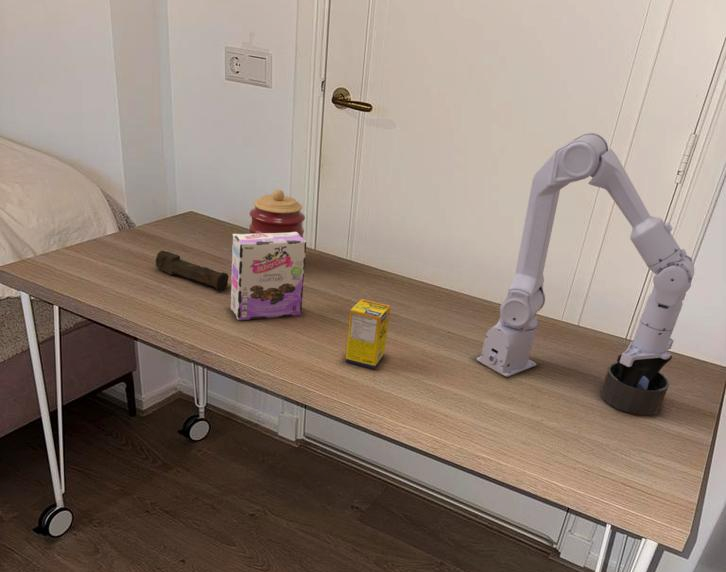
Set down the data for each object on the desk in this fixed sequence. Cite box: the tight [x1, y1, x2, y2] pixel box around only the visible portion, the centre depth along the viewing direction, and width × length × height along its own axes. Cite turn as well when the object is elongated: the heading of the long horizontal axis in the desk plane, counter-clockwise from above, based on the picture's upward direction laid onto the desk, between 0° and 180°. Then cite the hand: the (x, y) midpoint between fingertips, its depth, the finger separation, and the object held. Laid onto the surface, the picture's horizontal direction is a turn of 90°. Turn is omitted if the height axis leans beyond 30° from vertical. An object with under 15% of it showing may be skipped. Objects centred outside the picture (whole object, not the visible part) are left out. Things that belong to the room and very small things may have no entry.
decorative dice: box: [636, 376, 649, 390], centre depth 132 cm, size 4×4×4 cm
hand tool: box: [155, 250, 229, 293], centre depth 158 cm, size 19×4×5 cm, turn 60°
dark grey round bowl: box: [600, 361, 670, 416], centre depth 132 cm, size 11×11×6 cm
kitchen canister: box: [248, 188, 306, 238], centre depth 169 cm, size 13×13×18 cm
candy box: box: [230, 232, 307, 321], centre depth 145 cm, size 14×6×16 cm, turn 114°
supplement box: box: [345, 298, 391, 370], centre depth 133 cm, size 6×6×11 cm
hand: (633, 390), depth 132 cm, fingers closed on decorative dice, 5 cm apart
